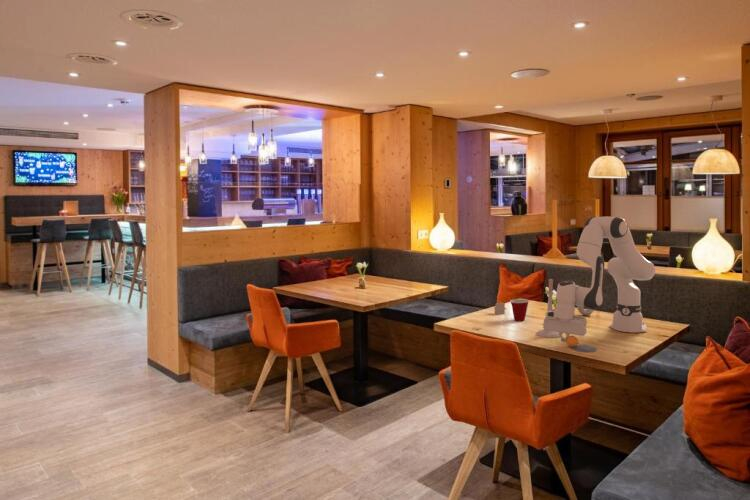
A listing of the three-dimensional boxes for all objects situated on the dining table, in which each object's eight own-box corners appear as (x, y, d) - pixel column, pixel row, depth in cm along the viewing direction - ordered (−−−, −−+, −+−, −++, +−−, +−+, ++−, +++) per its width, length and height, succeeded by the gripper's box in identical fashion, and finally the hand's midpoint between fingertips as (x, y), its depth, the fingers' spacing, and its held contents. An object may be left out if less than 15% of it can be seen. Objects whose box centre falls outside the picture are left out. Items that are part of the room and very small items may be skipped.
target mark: (574, 343, 277) (574, 343, 277) (599, 347, 270) (599, 347, 270) (566, 349, 267) (566, 348, 267) (592, 353, 260) (592, 353, 260)
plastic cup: (513, 317, 332) (514, 297, 331) (531, 319, 326) (531, 299, 325) (506, 320, 324) (507, 300, 322) (524, 323, 317) (525, 302, 316)
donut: (578, 316, 335) (578, 299, 334) (576, 314, 338) (577, 298, 337) (595, 316, 334) (595, 299, 333) (593, 314, 338) (593, 298, 337)
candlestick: (531, 332, 297) (533, 277, 294) (551, 330, 302) (553, 275, 298) (546, 339, 285) (548, 281, 282) (567, 336, 290) (569, 279, 286)
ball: (571, 332, 273) (581, 337, 271) (566, 341, 276) (577, 347, 273) (567, 335, 269) (577, 341, 266) (562, 344, 271) (573, 350, 269)
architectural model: (493, 313, 344) (494, 301, 343) (505, 313, 344) (505, 301, 343) (495, 315, 340) (495, 303, 339) (506, 314, 340) (506, 303, 340)
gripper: (588, 315, 268) (587, 343, 270) (547, 310, 281) (545, 336, 282) (584, 318, 263) (583, 346, 265) (542, 312, 276) (541, 339, 277)
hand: (563, 341), depth 274 cm, fingers closed
